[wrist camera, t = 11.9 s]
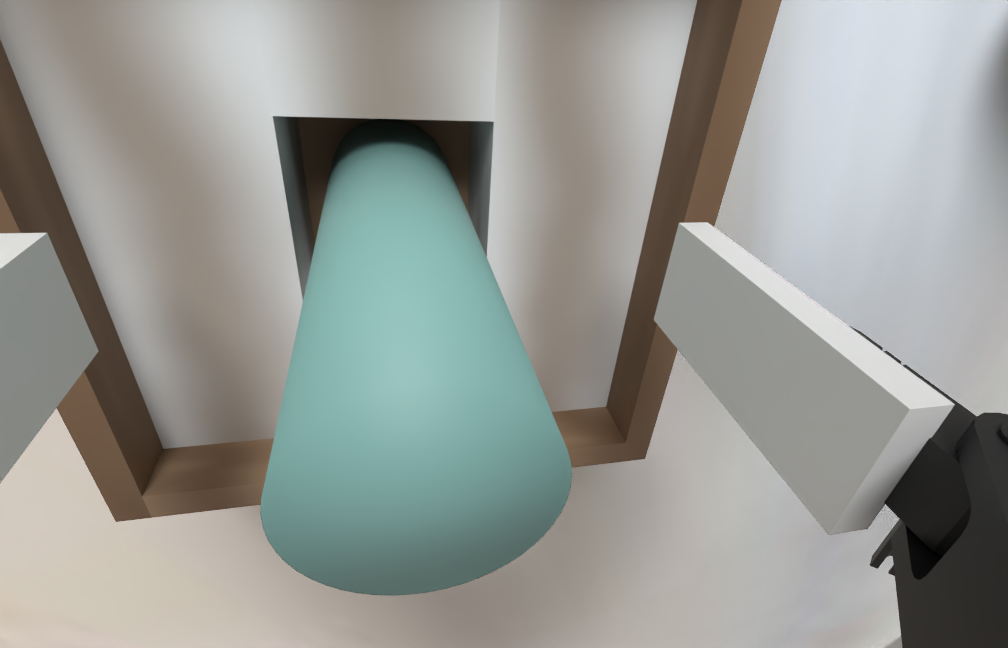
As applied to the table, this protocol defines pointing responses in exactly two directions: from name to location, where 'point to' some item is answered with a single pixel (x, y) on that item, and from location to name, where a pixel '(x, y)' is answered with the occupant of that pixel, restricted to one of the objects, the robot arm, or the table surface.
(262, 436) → the bore box
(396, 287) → the peg
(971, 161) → the table surface
